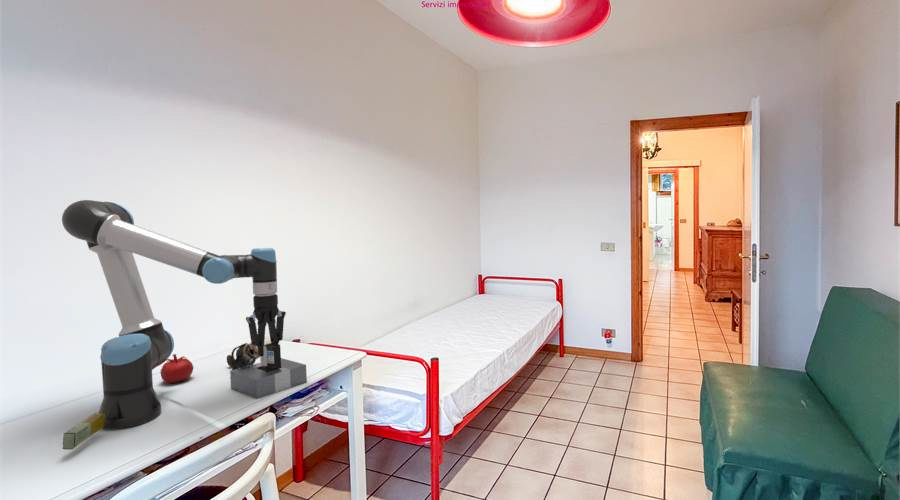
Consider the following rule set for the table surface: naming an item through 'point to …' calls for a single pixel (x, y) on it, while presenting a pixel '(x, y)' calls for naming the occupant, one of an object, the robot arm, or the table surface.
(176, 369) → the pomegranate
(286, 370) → the grey block with hole
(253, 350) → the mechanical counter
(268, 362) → the ink cartridge
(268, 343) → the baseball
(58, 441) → the table surface
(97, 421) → the medication box
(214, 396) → the table surface
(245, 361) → the power plug
